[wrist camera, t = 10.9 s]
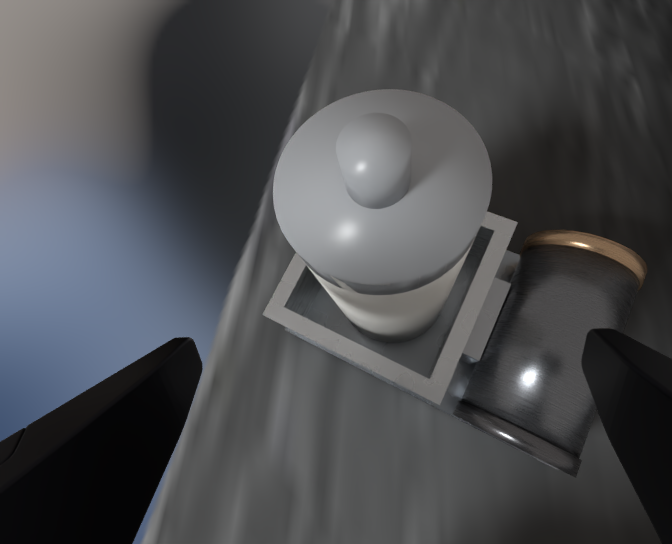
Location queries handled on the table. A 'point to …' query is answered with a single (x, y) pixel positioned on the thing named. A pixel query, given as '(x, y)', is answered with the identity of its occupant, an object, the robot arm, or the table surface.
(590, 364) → the robot arm
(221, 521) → the table surface
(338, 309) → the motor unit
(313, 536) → the table surface
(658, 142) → the table surface
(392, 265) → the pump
